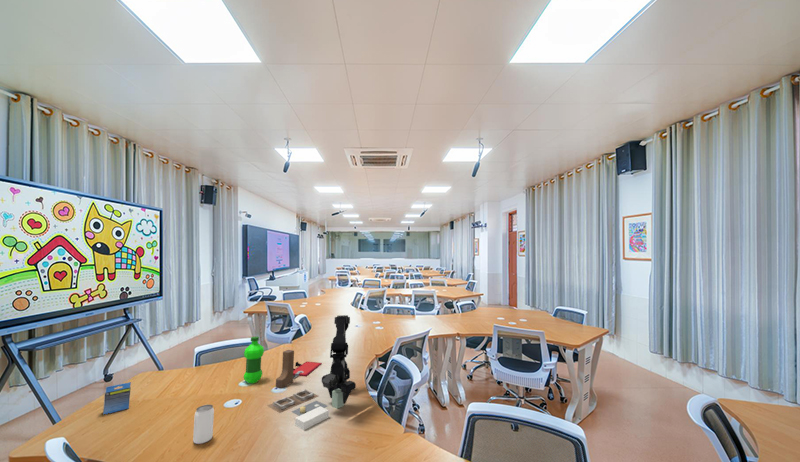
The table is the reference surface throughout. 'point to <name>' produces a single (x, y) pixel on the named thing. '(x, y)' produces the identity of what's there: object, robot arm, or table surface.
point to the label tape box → (116, 398)
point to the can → (203, 424)
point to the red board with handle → (305, 368)
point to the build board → (292, 401)
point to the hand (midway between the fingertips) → (337, 400)
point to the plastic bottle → (253, 361)
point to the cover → (311, 418)
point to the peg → (337, 398)
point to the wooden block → (286, 369)
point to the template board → (308, 408)
